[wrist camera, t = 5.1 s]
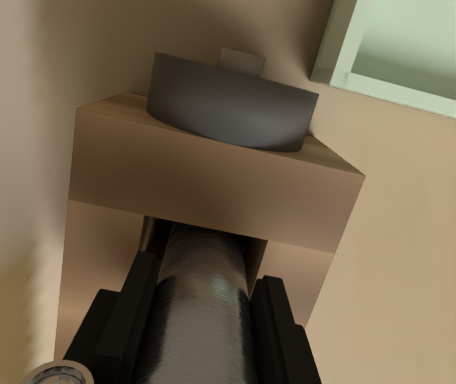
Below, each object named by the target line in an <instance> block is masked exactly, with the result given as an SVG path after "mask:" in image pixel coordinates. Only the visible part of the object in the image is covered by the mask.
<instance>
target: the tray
mask: <svg viewBox="0 0 456 384" xmlns="http://www.w3.org/2000/svg"><path fill="white" fill-rule="evenodd" d="M309 81H312V82H315V83H319V84H323V85H327V86H331V87H335V88H338V89H342V90H346V91H350V92H354V93H358V94H361V95H365V96H369V97H373V98H377V99H381V100H384V101H388V102H392V103H396V104H400V105H404V106H407V107H411V108H415V109H419V110H423V111H427V112H430V113H434V114H438V115H442V116H446V117H450V118H453V119H456V0H334V2H333V5H332V8H331V12H330V15H329V18H328V21H327V25H326V28H325V31H324V34H323V38H322V41H321V44H320V47H319V51H318V54H317V57H316V60H315V64H314V67H313V70H312V73H311V77H310V80H309Z"/></svg>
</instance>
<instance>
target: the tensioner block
mask: <svg viewBox="0 0 456 384" xmlns="http://www.w3.org/2000/svg"><path fill="white" fill-rule="evenodd" d="M264 60H265V58H262V57H259V56H256V55H252V54H249V53H245V52H241V51H237V50H233V49H229V48H224V47H221V52H220V57H219V61H218V66H217V67H216V66H212V65H208V64H204V63H200V62H196V61H192V60H188V59H184V58H180V57H176V56H172V55H167V54H163V53H158V52H156V53H155V59H154V65H153V71H152V78H151V84H150V90H149V96H148V97H145V96H141V95H137V94H133V93H129V92H125V93H122V94H119V95H116V96H113V97H110V98H107V99H104V100H101V101H98V102H95V103H92V104H89V105H86V106H83V107H80V108H77V111H76V122H75V133H74V144H73V155H72V165H71V176H70V187H69V198H68V209H67V220H66V230H65V241H64V252H63V263H62V274H61V285H60V296H59V306H58V317H57V328H56V339H55V350H54V361H56V360H62V359H63V357H64V355H65V353H66V352H67V350H68V348H69V346H70V344H71V342H72V340H73V338H74V336H75V334H76V332H77V331H78V329H79V327H80V325H81V323H82V321H83V319H84V317H85V315H86V313H87V311H88V310H89V308H90V306H91V304H92V302H93V300H94V298H95V296H96V294H97V293H98V291H99V290H100V289H107V290H112V291H118V292H120V291H121V289H122V287H123V284H124V282H125V280H126V277H127V275H128V273H129V270H130V268H131V266H132V263H133V261H134V258H135V256H136V254H137V252H138V250H140V251H145V252H150V253H155V254H156V257H155V258H156V259H161V260H163V257H164V253H165V250H166V246H167V243H168V242H165V241H160V240H155V239H154V235H155V230H156V224H157V219H158V218H161V219H166V220H171V221H176V222H181V223H186V224H191V225H196V226H200V227H205V228H210V229H215V230H220V231H225V232H230V233H235V234H240V235H241V242H242V250H243V258H244V266H245V275H246V283H247V291H248V299H249V300H250V297H251V294H252V291H253V288H254V285H255V282H256V280H257V278H259V279H262V278H263V276H264V275H268V276H273V277H278V278H282V280H283V282H284V286H285V289H286V293H287V296H288V300H289V303H290V307H291V310H292V314H293V317H294V321H295V324H299V325H302V326H303V328H304V330H305V328H306V325H307V323H308V320H309V318H310V315H311V313H312V310H313V308H314V305H315V303H316V300H317V298H318V295H319V293H320V290H321V288H322V285H323V283H324V280H325V278H326V275H327V272H328V270H329V267H330V265H331V262H332V260H333V257H334V255H335V252H336V250H337V247H338V245H339V242H340V240H341V237H342V235H343V232H344V230H345V227H346V225H347V222H348V220H349V217H350V214H351V212H352V209H353V207H354V204H355V202H356V199H357V197H358V194H359V192H360V189H361V187H362V184H363V182H364V179H365V177H366V176H365V175H364V174H363V173H361V172H360V171H359V170H357V169H356V168H355V167H353V166H352V165H351V164H349V163H348V162H347V161H346V160H344V159H343V158H342V157H340V156H339V155H338V154H336V153H335V152H334V151H332V150H331V149H330V148H328V147H327V146H326V145H324V144H323V143H322V142H320V141H319V140H318V139H316V138H315V137H311V136H307V135H306V134H307V131H308V127H309V124H310V121H311V118H312V115H313V112H314V109H315V106H316V103H317V99H318V96H319V94H317V93H314V92H310V91H307V90H303V89H300V88H296V87H292V86H289V85H285V84H281V83H277V82H274V81H270V80H266V79H262V78H260V75H261V72H262V68H263V64H264ZM161 264H162V261H161ZM160 267H161V266H160Z"/></svg>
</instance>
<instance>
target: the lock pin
mask: <svg viewBox="0 0 456 384" xmlns="http://www.w3.org/2000/svg"><path fill="white" fill-rule="evenodd" d="M129 384H259V380H258V372H257V364H256V356H255V348H254V339H253V331H252V323H251V315H250V307H249V299H248V291H247V283H246V275H245V266H244V258H243V250H242V242H241V235H240V234H235V233H230V232H225V231H220V230H215V229H210V228H205V227H200V226H196V225H191V224H186V223H181V222H176V221H173V225H172V228H171V232H170V236H169V239H168V243H167V246H166V250H165V253H164V257H163V260H162V264H161V267H160V271H159V276H158V281H157V286H156V289H155V293H154V297H153V300H152V304H151V307H150V311H149V315H148V318H147V322H146V325H145V329H144V333H143V336H142V340H141V343H140V347H139V351H138V354H137V358H136V361H135V365H134V369H133V372H132V376H131V379H130V383H129Z"/></svg>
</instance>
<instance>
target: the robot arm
mask: <svg viewBox="0 0 456 384" xmlns="http://www.w3.org/2000/svg"><path fill="white" fill-rule="evenodd" d="M155 257H156V254H155V253H150V252H145V251H140V250H138V252H137V254H136V256H135V258H134V261H133V263H132V266H131V268H130V270H129V273H128V275H127V277H126V280H125V282H124V284H123V287H122V289H121V291H120V292H118V291H112V290H107V289H100V290H99V291H98V293H97V294H96V296H95V298H94V300H93V302H92V304H91V306H90V308H89V310H88V311H87V313H86V315H85V317H84V319H83V321H82V323H81V325H80V327H79V329H78V331H77V332H76V334H75V336H74V338H73V340H72V342H71V344H70V346H69V348H68V350H67V352H66V353H65V355H64V357H63V359H62V360H56V361H52V362H48V363H45V364H43V365H41V366H39V367H37V368H35V369H33V370H32V371H31V372H30V373H28V374H27V375H26V376H25V377H24V378H23V380H22V381H21V382H20V384H129V383H130V379H131V376H132V372H133V369H134V365H135V361H136V358H137V354H138V351H139V347H140V343H141V340H142V336H143V333H144V329H145V325H146V322H147V318H148V315H149V311H150V307H151V304H152V300H153V297H154V293H155V289H156V286H157V281H158V276H159V271H160V266H161V261H162V260H161V259H156V258H155ZM249 307H250V315H251V323H252V331H253V339H254V348H255V356H256V364H257V372H258V380H259V384H322V383H321V380H320V377H319V373H318V370H317V367H316V364H315V361H314V358H313V354H312V351H311V348H310V345H309V342H308V339H307V336H306V332H305V330H304V328H303V326H302V325H299V324H295V321H294V317H293V314H292V310H291V307H290V303H289V300H288V296H287V293H286V289H285V286H284V282H283V280H282V278H278V277H273V276H268V275H264V276H263V278H262V279H259V278H257V280H256V282H255V285H254V288H253V291H252V294H251V297H250V300H249Z"/></svg>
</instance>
